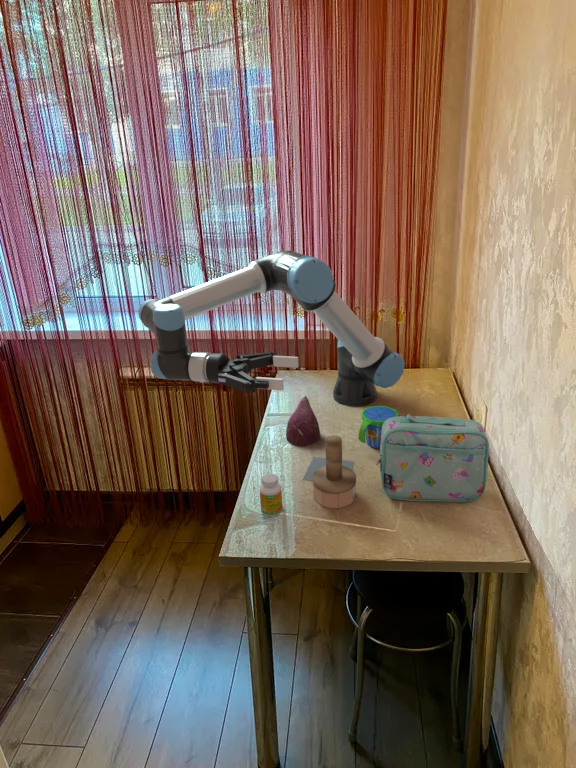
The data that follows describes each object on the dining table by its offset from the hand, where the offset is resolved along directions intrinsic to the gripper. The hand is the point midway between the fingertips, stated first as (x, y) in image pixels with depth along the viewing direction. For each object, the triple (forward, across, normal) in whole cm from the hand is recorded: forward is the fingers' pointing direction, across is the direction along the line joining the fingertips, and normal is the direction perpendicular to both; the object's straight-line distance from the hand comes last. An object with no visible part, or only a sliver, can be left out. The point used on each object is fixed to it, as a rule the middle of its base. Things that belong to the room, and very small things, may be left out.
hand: (291, 373), depth 136 cm
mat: (+7, -7, -32) cm, 34 cm away
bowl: (+11, +4, -32) cm, 34 cm away
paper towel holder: (+11, +4, -27) cm, 30 cm away
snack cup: (+19, -25, -33) cm, 45 cm away
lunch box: (+34, -3, -33) cm, 47 cm away
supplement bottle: (-3, +13, -32) cm, 35 cm away
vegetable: (-4, -24, -33) cm, 41 cm away
